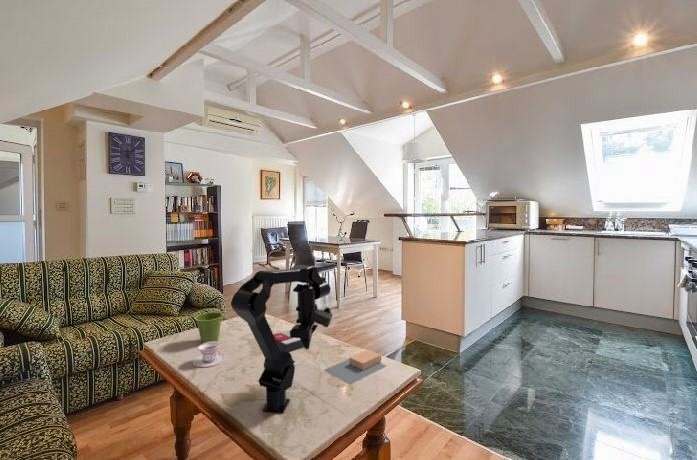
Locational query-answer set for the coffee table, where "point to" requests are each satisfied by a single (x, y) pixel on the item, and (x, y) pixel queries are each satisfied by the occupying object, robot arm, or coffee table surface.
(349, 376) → the mat
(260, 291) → the robot arm
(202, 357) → the teacup
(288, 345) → the red and grey box
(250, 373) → the coffee table surface
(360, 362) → the peach rectangular block
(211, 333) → the plant pot
